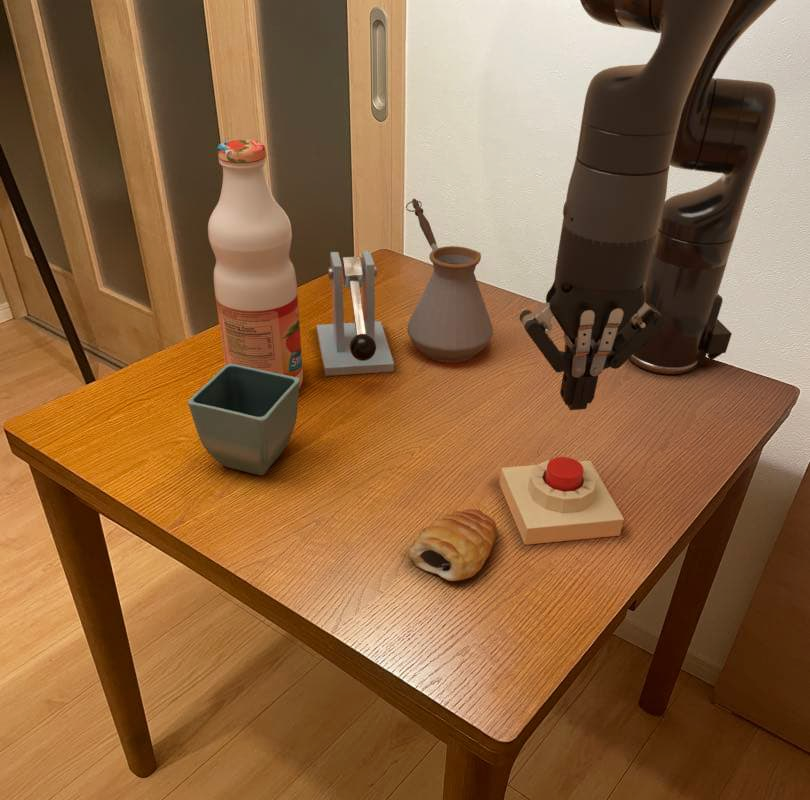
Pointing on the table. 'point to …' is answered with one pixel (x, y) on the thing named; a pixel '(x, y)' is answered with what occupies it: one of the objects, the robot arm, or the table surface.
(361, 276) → the lever
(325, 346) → the bracket
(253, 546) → the table surface
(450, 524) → the pastry
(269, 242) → the fruit juice
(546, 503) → the button block
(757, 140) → the robot arm
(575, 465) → the button
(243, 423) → the flower pot
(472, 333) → the coffee pot
